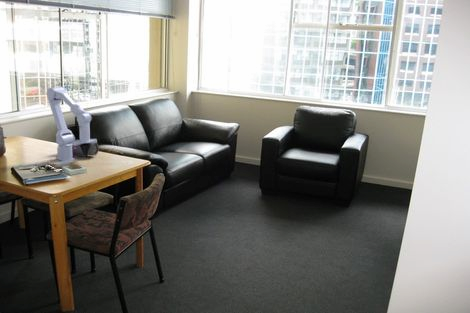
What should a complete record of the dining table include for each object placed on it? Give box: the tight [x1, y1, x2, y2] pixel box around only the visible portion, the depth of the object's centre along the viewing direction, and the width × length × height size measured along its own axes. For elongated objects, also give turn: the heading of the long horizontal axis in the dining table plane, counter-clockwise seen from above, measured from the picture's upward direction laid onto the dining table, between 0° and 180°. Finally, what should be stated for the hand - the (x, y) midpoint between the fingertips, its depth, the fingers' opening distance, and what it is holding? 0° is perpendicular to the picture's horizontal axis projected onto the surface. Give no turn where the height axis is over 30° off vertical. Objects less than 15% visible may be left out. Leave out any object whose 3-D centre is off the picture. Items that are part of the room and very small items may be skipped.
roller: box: [69, 161, 82, 170], centre depth 255 cm, size 6×4×4 cm, turn 47°
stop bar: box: [46, 161, 60, 169], centre depth 256 cm, size 12×2×3 cm, turn 47°
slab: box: [53, 160, 80, 169], centre depth 262 cm, size 9×12×3 cm
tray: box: [62, 165, 88, 176], centre depth 255 cm, size 10×9×2 cm
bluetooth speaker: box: [72, 139, 100, 158], centre depth 288 cm, size 23×9×10 cm, turn 76°
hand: (85, 155), depth 270 cm, fingers closed
